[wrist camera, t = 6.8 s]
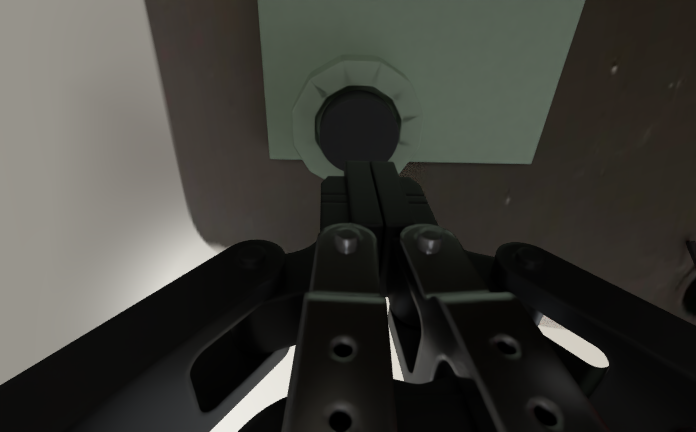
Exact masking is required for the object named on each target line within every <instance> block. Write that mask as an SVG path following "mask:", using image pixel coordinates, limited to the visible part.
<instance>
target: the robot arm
mask: <svg viewBox="0 0 696 432" xmlns="http://www.w3.org/2000/svg"><path fill="white" fill-rule="evenodd" d="M385 297H388V298H389V303H390V305H389V312H388V315H387V304H386V299H385ZM543 315H545V316H547V317H548V318H550V319H552V320H553V321H555V322H556V323H558V324H560V325H561V326H563V327H565V328H566V329H568V330H570V331H571V332H573V333H575V334H576V335H578V336H580V337H581V338H583V339H584V340H586V341H588V342H589V343H591V344H593V345H594V346H596V347H597V348H599V349H600V350H601V351H602V352H603V353H604V354H605V356H606V357H607V359H608V361H609V366H608V367H605V368H598V367H594V366H592V365H590V364H588V363H586V362H585V361H583V360H582V359H580V358H579V357H577V356H575V355H574V354H572V353H571V352H569V351H568V350H566V349H565V348H563V347H562V346H560V345H558V344H557V343H555V342H553V341H552V340H551V339H549V338H548V337H546V336H544V335H543V334H542V332H541V331H540V329H539V328H538V325H539V323H540V321H541V319H542V316H543ZM388 324H389V327H388ZM389 328H390V331H391V335H392V338H393V342H394V345H395V349H396V353H397V356H398V360H399V363H400V366H401V371H402V374H403V378H404V381H400V380H395V379H393V373H392V361H391V350H390V338H389ZM294 345H296V347H295V353H294V359H293V365H292V371H291V378H290V383H289V389H288V395H287V397H285V398H282V399H280V400H279V401H277V402H275V403H273V404H271V405H270V406H268V407H266V408H265V409H264V410H262V411H261V412H259V413H258V414H256V415H255V416H254V417H253V418H252V419H251V420H249V421H248V422H247V423H246V424H245V425H244V426H243V427H242V428H241V429H240V430H239V431H238V432H696V326H695V325H693V324H691V323H689V322H687V321H685V320H683V319H681V318H679V317H677V316H675V315H673V314H671V313H669V312H667V311H665V310H663V309H661V308H659V307H657V306H655V305H653V304H651V303H649V302H647V301H645V300H643V299H641V298H639V297H637V296H635V295H633V294H631V293H629V292H627V291H625V290H623V289H621V288H619V287H617V286H615V285H613V284H611V283H609V282H607V281H605V280H603V279H601V278H599V277H597V276H595V275H593V274H591V273H589V272H587V271H585V270H583V269H581V268H579V267H577V266H575V265H573V264H571V263H569V262H567V261H565V260H563V259H561V258H559V257H557V256H555V255H553V254H551V253H549V252H547V251H545V250H543V249H541V248H539V247H536V246H534V245H530V244H526V243H519V242H511V243H506V244H503V245H501V246H500V247H499V248H498V249H497V252H496V255H495V257H492V256H487V255H482V254H477V253H473V252H469V251H466V250H464V249H463V247H462V245H461V244H460V242H459V241H458V239H457V238H456V236H455V235H454V234H452V233H451V232H450V231H448V230H446V229H444V228H442V227H439V226H438V224H437V222H436V220H435V217H434V215H433V213H432V211H431V209H430V206H429V204H428V202H427V200H426V197H425V196H424V193H423V191H422V189H421V186H420V185H419V184H418V183H416V182H415V181H414V180H413V179H411V178H410V177H399V175H398V172H397V169H396V167H395V164H394V162H387V161H370V162H369V161H345V164H344V176H327V178H326V179H325V180H324V181H323V182H322V183H321V218H320V233H319V234H318V237H317V241H316V242H315V243H314V244H312V245H311V246H309V247H307V248H306V249H303V250H300V251H297V252H293V253H288V254H285V253H284V251H283V249H282V248H281V247H280V246H278V245H277V244H275V243H273V242H270V241H266V240H248V241H243V242H240V243H237V244H235V245H233V246H231V247H229V248H227V249H226V250H224V251H222V252H221V253H219V254H217V255H216V256H214V257H213V258H211V259H209V260H208V261H206V262H204V263H203V264H201V265H199V266H198V267H196V268H194V269H193V270H191V271H189V272H188V273H186V274H184V275H183V276H181V277H179V278H178V279H176V280H174V281H173V282H171V283H169V284H168V285H166V286H164V287H163V288H161V289H160V290H158V291H156V292H155V293H153V294H151V295H149V296H148V297H146V298H145V299H143V300H141V301H139V302H138V303H136V304H135V305H133V306H131V307H129V308H128V309H126V310H125V311H123V312H121V313H120V314H118V315H116V316H115V317H113V318H111V319H110V320H108V321H106V322H105V323H103V324H101V325H100V326H98V327H96V328H95V329H93V330H91V331H90V332H88V333H86V334H85V335H83V336H81V337H80V338H78V339H76V340H75V341H73V342H71V343H70V344H68V345H67V346H65V347H63V348H61V349H60V350H58V351H57V352H55V353H53V354H52V355H50V356H48V357H46V358H45V359H43V360H42V361H40V362H38V363H37V364H35V365H33V366H32V367H30V368H28V369H27V370H25V371H23V372H22V373H20V374H18V375H17V376H15V377H13V378H12V379H10V380H8V381H7V382H5V383H4V384H2V385H0V432H210V431H211V429H213V428H214V427H215V426H216V425H217V424H218V423H219V422H220V421H221V420H222V419H223V418H224V416H226V415H227V414H228V413H229V412H230V411H231V410H232V409H233V408H234V407H235V406H236V405H237V404H238V403H239V402H240V401H241V400H242V399H243V398H244V397H245V396H246V395H247V394H248V393H249V392H250V391H251V390H252V389H253V388H254V387H255V386H256V385H257V384H258V383H259V382H260V381H261V380H262V379H263V378H264V377H265V376H266V375H267V374H268V373H269V372H270V371H271V370H272V369H273V368H274V367H275V366H276V365H277V364H278V363H279V362H280V361H281V360H282V359H283V358H284V357H285V356H286V354H287V352H288V350H289V347H291V346H294Z"/></svg>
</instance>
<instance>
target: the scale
mask: <svg viewBox="0 0 696 432" xmlns="http://www.w3.org/2000/svg"><path fill="white" fill-rule="evenodd" d="M257 1H258V14H259V27H260V40H261V53H262V66H263V79H264V91H265V104H266V117H267V130H268V143H269V156H270V159H292V160H303V161H304V163H305V164H306V166H307V168H308V169H309V171H310V172H312V173H313V174H315V175H317V176H319V177H321V178H323V179H326V178H327V176H344V171H342V170H340V169H338V168H336V167H335V166H334V165H332V164H331V163H330V162H329V161H328V160H327V158H326V157H325V155H324V153H323V151H322V149H321V145H320V122H321V117H322V114H323V112H324V110H325V108H326V107H327V105H328V104H329V103H330V102H331V101H332V100H333V99H334V98H336V97H337V96H339V95H340V94H343V93H345V92H348V91H353V90H364V91H369V92H372V93H374V94H376V95H378V96H379V97H381V98H382V99H383V100H384V101H385V102H386V103H387V104H388V105H389V107H390V109H391V111H392V113H393V115H394V117H395V119H396V122H397V124H398V129H399V140H398V145H397V148H396V150H395V152H394V154H393V155H392V157H391V158H390V159H389V160H388V162H394V164H395V167H396V169H397V172H398V174H399V173H400V172H401V171H402V169H403V168H404V167H405V166H406V164H407V163H408V162H451V163H504V164H531V163H532V160H533V157H534V154H535V151H536V148H537V145H538V142H539V139H540V136H541V133H542V130H543V127H544V124H545V120H546V117H547V114H548V111H549V108H550V105H551V102H552V99H553V96H554V93H555V90H556V87H557V84H558V81H559V78H560V75H561V72H562V69H563V66H564V63H565V60H566V57H567V54H568V51H569V48H570V45H571V42H572V39H573V36H574V33H575V30H576V27H577V24H578V21H579V18H580V15H581V12H582V9H583V6H584V3H585V0H257Z"/></svg>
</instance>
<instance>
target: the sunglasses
mask: <svg viewBox="0 0 696 432" xmlns="http://www.w3.org/2000/svg"><path fill="white" fill-rule="evenodd" d="M686 245H687V248H688V250H689V253H690V255H691V257H692V259H693V262H694V265H695V269H696V242H695V241H691V242H686Z"/></svg>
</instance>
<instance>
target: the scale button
mask: <svg viewBox="0 0 696 432" xmlns="http://www.w3.org/2000/svg"><path fill="white" fill-rule="evenodd" d="M398 140H399V129H398V124H397V122H396V119H395V117H394V115H393V113H392V111H391V109H390V107H389V105H388V104H387V103H386V102H385V101H384V100H383V99H382V98H381V97H379V96H378V95H376V94H374V93H372V92H369V91H364V90H353V91H348V92H345V93H343V94H340V95H339V96H337V97H336V98H334V99H333V100H332V101H331V102H330V103H329V104H328V105H327V107H326V108H325V110H324V112H323V114H322V117H321V122H320V145H321V149H322V151H323V153H324V155H325V157H326V158H327V160H328V161H329V162H330V163H331V164H332V165H334V166H335V167H336V168H338V169H340V170H342V171H344V164H345V161H369V162H370V161H387V162H388V160H389V159H390V158H391V157H392V155H393V154H394V152H395V150H396V148H397V145H398Z"/></svg>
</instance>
